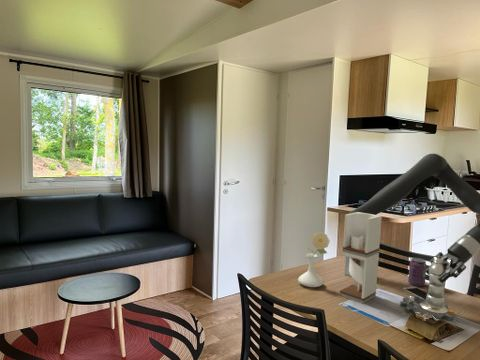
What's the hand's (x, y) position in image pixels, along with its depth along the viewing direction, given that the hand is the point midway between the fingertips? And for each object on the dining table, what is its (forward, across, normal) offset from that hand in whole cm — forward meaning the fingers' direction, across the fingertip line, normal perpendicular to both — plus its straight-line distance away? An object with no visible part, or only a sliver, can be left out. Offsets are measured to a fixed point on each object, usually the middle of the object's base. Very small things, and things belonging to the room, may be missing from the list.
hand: (433, 277), depth 137 cm
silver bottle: (+8, 0, +10) cm, 12 cm away
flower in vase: (+39, -25, -19) cm, 50 cm away
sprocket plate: (+10, -1, +9) cm, 14 cm away
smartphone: (+6, -16, +15) cm, 23 cm away
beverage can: (+3, -28, +17) cm, 33 cm away
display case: (+27, -14, -7) cm, 31 cm away
